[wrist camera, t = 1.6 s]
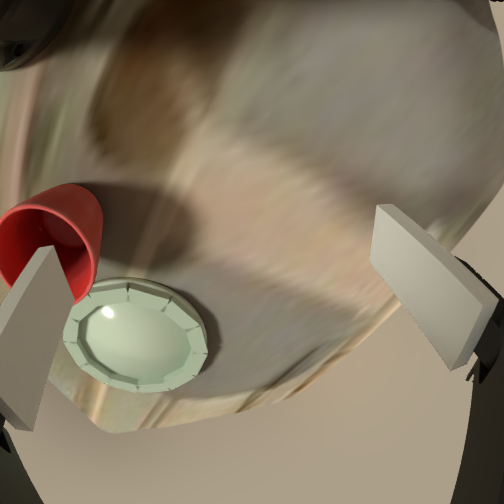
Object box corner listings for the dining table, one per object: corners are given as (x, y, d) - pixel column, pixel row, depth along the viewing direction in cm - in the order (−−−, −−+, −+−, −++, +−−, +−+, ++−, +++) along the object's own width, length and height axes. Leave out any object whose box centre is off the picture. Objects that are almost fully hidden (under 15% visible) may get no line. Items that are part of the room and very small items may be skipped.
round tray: (63, 361, 42) (60, 372, 40) (73, 256, 34) (68, 266, 32) (183, 392, 48) (183, 403, 47) (229, 303, 40) (230, 314, 39)
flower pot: (122, 258, 35) (104, 313, 27) (40, 257, 33) (8, 307, 25) (115, 168, 30) (86, 202, 22) (25, 173, 28) (-21, 207, 20)
